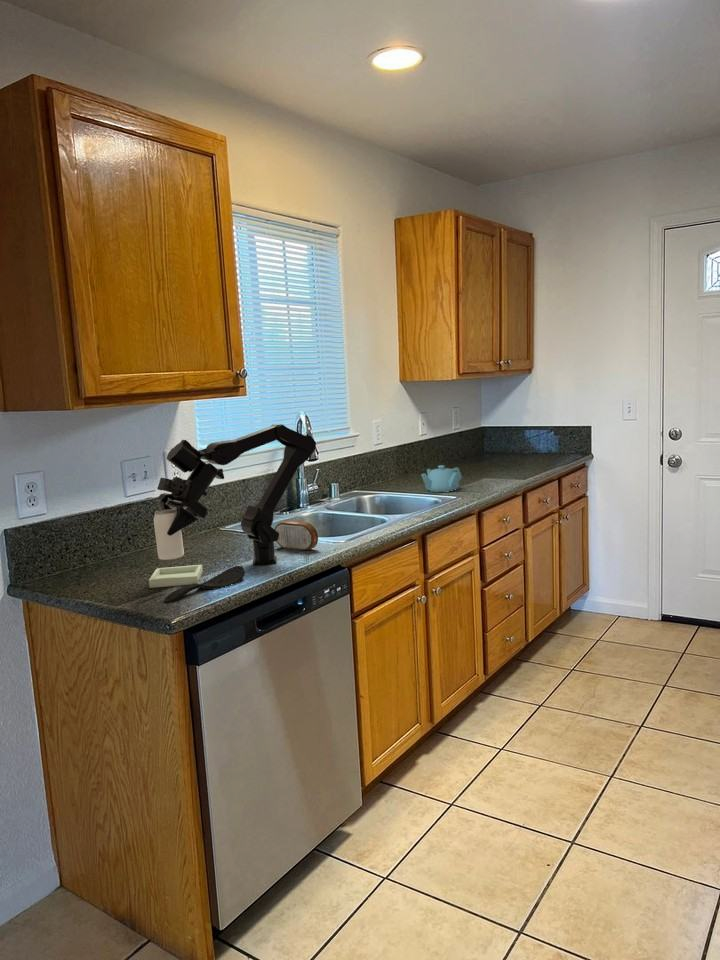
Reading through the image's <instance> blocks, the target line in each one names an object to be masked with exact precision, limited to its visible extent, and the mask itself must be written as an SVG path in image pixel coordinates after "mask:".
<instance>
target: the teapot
mask: <svg viewBox="0 0 720 960" xmlns="http://www.w3.org/2000/svg"><path fill="white" fill-rule="evenodd" d="M437 467H438V468H434V469H431V468H427V469H426V472H427V473H421V478H422V480H423V483H424V485H425V488H426V490H427V491H428V490H430V491H450V490H455V489H457V490H458V489H459V487H460V483H459V482H460V481H461V480H462V478H463V476H462V473H461V471H460V469H459V467H454V468H447V467H446V466H445V465H443V464H442V465H438V466H437ZM445 467H446V468H445Z"/></svg>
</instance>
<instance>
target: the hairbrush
mask: <svg viewBox="0 0 720 960" xmlns="http://www.w3.org/2000/svg"><path fill="white" fill-rule="evenodd" d="M233 564H234V565H233V566H231V564H229V565H226V566H227V567H226V568H225V566H224V567H223V568H224V569H223V571H221V573H220V569H219V570H218V571H217V572H214V575H213V573H212V574H211V575H209V576H210V577H209V576H207V577H204V578H202V579H201V578H200V580H199V582H198V584H195V583H194V584H190V585H184V586H183V587H181V588H178V589H176V590H173V591H172V592H171V593H169V594H168V595H167V596H165V598H164V599H163V603H164V604H169V603H175V602H177V601H178V600H180V599H181V598H183V597H184V596H185V595H186V594H188V593H190V592H192V591H194V590H196V589H199V588H200V589H205V590H215V589H217V588H219V589H222V588H221V587H224V588H226V587H225V586H228V587H230V586H229V585H231V584H235V583H237V582H239V581H240V582H241V581H242V580H243V578H244V576H246V575H245V574H246V570H245V568H244V566H243V565H236V562H235V563H233ZM228 566H229V567H228ZM240 582H239V583H240ZM237 584H238V583H237ZM235 585H236V584H235ZM214 588H215V589H214Z"/></svg>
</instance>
